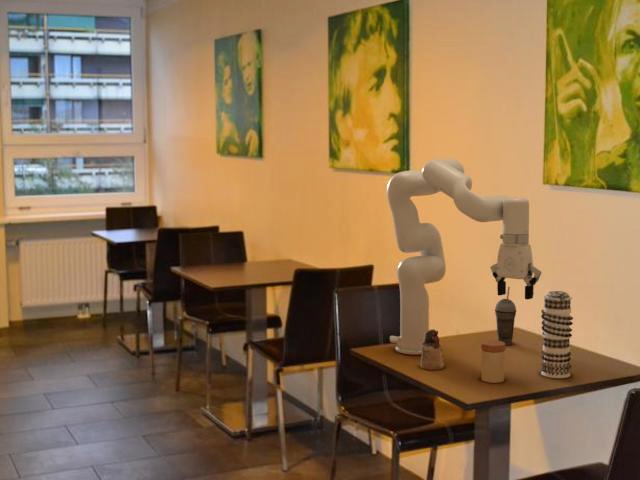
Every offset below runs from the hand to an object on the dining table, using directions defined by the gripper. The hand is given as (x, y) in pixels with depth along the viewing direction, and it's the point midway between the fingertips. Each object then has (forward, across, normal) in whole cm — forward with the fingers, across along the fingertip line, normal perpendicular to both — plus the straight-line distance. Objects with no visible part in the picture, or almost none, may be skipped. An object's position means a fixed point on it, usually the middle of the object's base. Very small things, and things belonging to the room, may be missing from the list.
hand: (515, 296), depth 265 cm
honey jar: (+24, -2, -8) cm, 25 cm away
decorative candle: (+24, +8, +10) cm, 27 cm away
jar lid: (+13, -2, -8) cm, 16 cm away
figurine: (+24, -23, -10) cm, 35 cm away
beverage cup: (+24, -26, +31) cm, 47 cm away
